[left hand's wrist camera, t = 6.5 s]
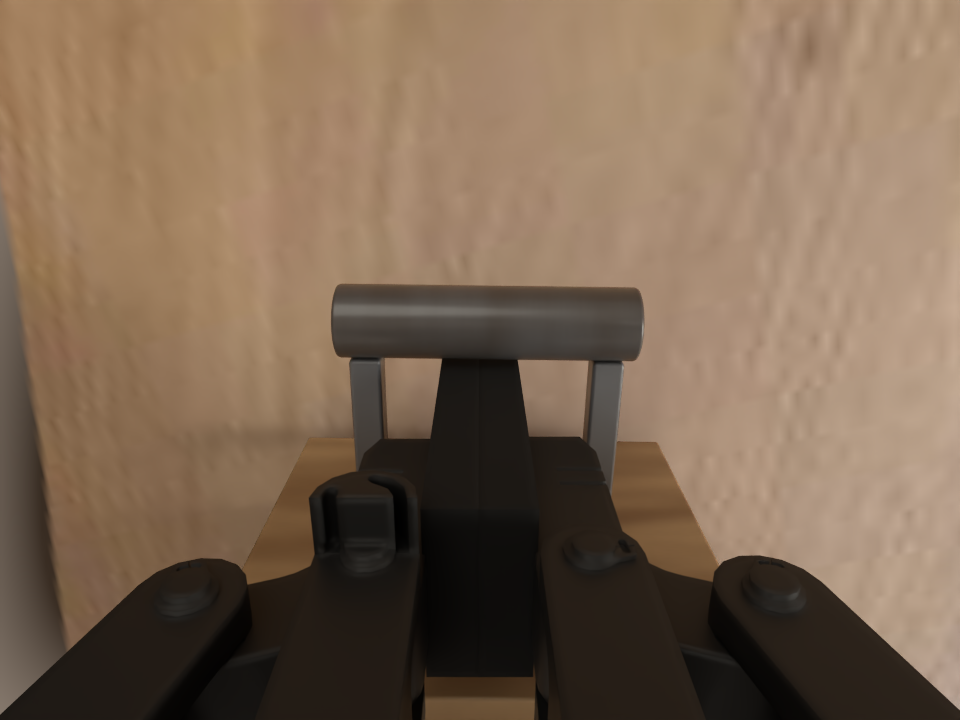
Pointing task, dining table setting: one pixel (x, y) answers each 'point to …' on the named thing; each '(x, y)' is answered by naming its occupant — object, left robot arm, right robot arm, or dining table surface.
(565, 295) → the drawer
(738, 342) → the dining table surface
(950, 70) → the dining table surface
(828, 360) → the dining table surface
